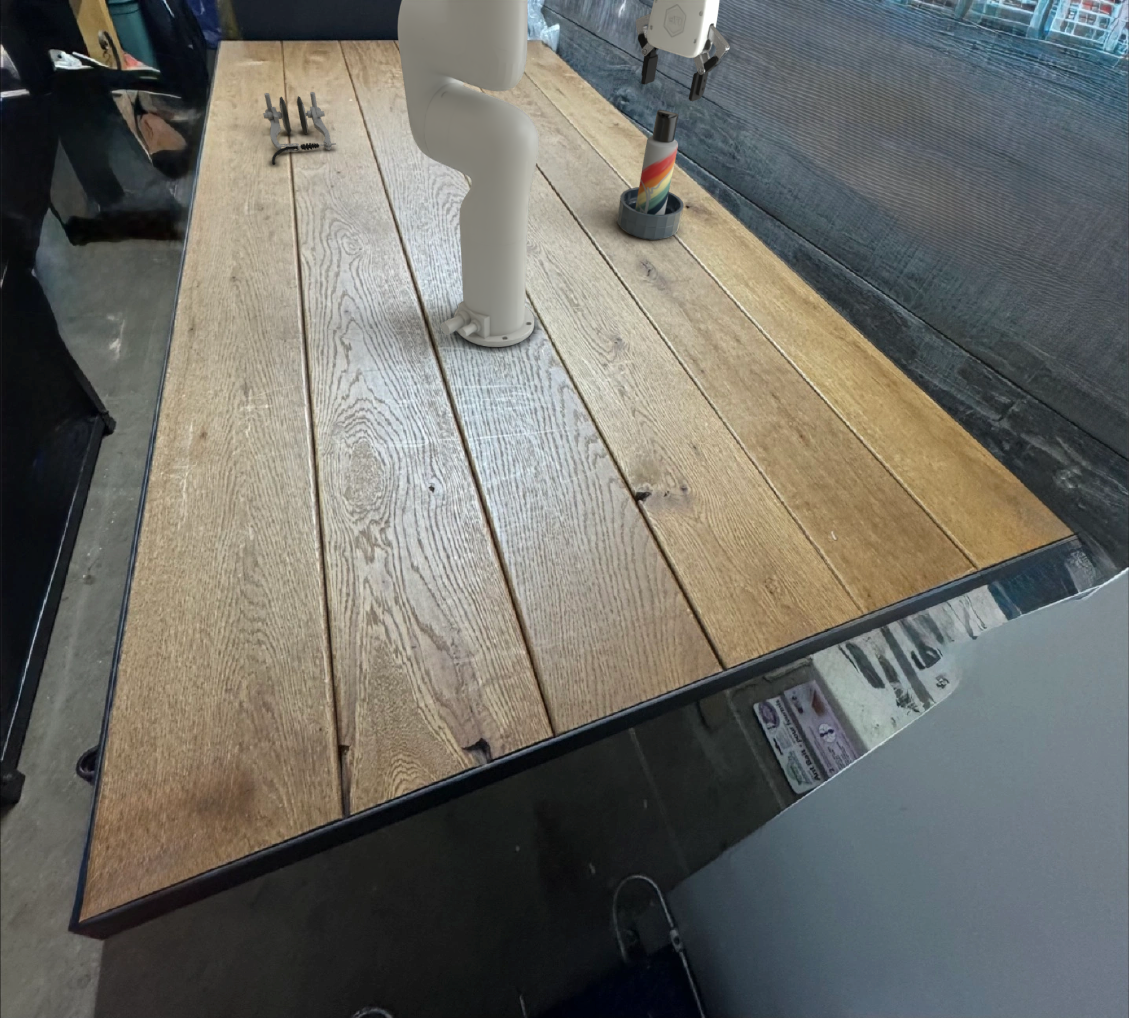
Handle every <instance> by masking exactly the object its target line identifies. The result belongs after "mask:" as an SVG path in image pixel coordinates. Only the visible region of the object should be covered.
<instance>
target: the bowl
mask: <svg viewBox="0 0 1129 1018" xmlns="http://www.w3.org/2000/svg"><path fill="white" fill-rule="evenodd" d="M638 191H639V186H635V187H631V188H628V189H626V190H624V191H623V192H622V193H621V194H620V195H619V202H618V208H617V209H618V210H617V218H616V223H617V225H618V226H619V228H621V229H622V230H623V231H624V232H626V233H627V234H629V235H631V236H633V237H636V238H639V239H642V240H643V239H644V240H653V241H656V240H657V241H658V240H663V239H667V238H670V237H673V236H674V235H676V234H677V233H678V231H679V229H680V226H681V221H682V216H683V211H684V202H683V200H682V199H681V198H680V197H679V196H678V195H676V194H675V193H673V192H670V191H669V193H668V198H667V204H666V209H665V214H664V215H653V214H646V213H642V212H639V211H636V210H635V209H636V203H637V197H638Z"/></svg>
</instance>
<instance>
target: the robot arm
mask: <svg viewBox="0 0 1129 1018" xmlns="http://www.w3.org/2000/svg"><path fill="white" fill-rule="evenodd" d="M528 1H529V0H401V2H400V6H399V11H398V16H397V17H398V18H397V39H398V40H397V41H398V50H399V57H400V65H401V72H402V81H403V86H404V87H403V88H404V89H403V90H404V96H405V101H406V102H405V103H406V110H407V117H408V123H409V128H410V132H411V135H412V138H413V141H414V143H415V144H416V146H417V148H418V149H419V150H420V151H421V153H423V154H424V155H425V157H428V158H429V159H431V160H433V161H435V162H437V163H439V164H441V165H443V166H445V167H448V168H450V169H452V170H455V171H457V172H459V173H460V174H463V175H465V176H467V177H468V178H469V179H470V186H469V187H470V188H469V189H468V191H467V193H466V194H465V196H464V197H463V199H462V201H461V204H460V206H459V207H460V208H459V213H458V214H459V215H458V217H459V219H458V220H459V221H458V222H459V236H460V237H459V239H460V260H461V281H462V284H461V285H462V286H461V287H462V301H460V302H459V303H458V305H457V309H456V310H455V312H454V315H453V317H451V318H449V319H447V320H445V321H443V322H441V323H440V330H441V332H442V333H443V334H444V335H445V336H449V335H451V334H453V333H455V332H457V333H458V334H459V336H460V337H462V338H463V339H465V340H467V341H468V342H470V343H472V344H475V345H478V346H483V347H489V348H503V347H509V346H514V345H517V344H518V343H521V342H523V341H525V340H526V339H528V338H529V336H531V334H532V333H533V331H534V328H535V318H534V314H533V312H532V311H531V310H530V309H529V308H528V306H527V305H526V293H527V292H526V291H527V290H526V289H527V268H528V267H527V264H528V242H529V241H528V240H529V238H528V237H529V236H528V235H529V215H530V214H529V211H530V200H531V192H532V186H533V180H534V175H535V172H536V166H537V162H538V158H539V154H540V153H539V152H540V135H539V131H538V128H537V125H536V124H535V121H533V119H532V117H531V116H530V115H529V114H528V113H527V112H526V111H525V110H523V109H522V108H520V107H519V106H517V105H515V104H513V103H511V102H509V101H507V100H504V99H502V98H499V97H496V96H493V95H491V94H488V93H486V92H483V91H479V90H476V89H473V88H471V87H468V86H465V85H464V84H467V85H469V86H472V87H476V88H478V89H482V90H485V91H491V92H501V93H502V92H507V91H510V90H512V89H514V88H515V87H517V85H518V84H519V83H520V82H521V80H522V79H523V76H524V74H525V70H526V64H527V58H528V27H529V26H528V25H529V24H528V23H529V21H528V15H529V13H528V10H529V9H528V6H529V5H528V3H529V2H528ZM719 8H720V0H653V3H652V7H651V11H650V13H647V14H644V15H643V16H641V17H638V18H636V20H635V27H636V33H637V41H638V44H639V46H640V48H641V55H642V56H643V61H642V67H641V75H640V76H641V81H640V84H641V85H643V86H645V85H649V84H651V83H653V82H655V79H656V73H657V68H658V62H659V54H657V52H658V50H662V51H665V52H668V53H671V54H674V55H677V56H681V57H684V58H688V59H692V58H693V61H694V64H695V67H696V71H697V72H694V73H693V76H692V81H691V83H690V84H691V85H690V89H689V94H688V101H689V102H696V101H698V100H700V99H702V97H703V95H704V93H705V91H706V90H705V89H706V85H707V81H708V78H709V77H708V76H709V73H711V72H712V71H713V70H714V69H715V68H716V67H717V66H719V65H720V64H721V63H722V60H723V59H724V57H725V56H726V55H727V53H728V52H729V50H730V48H731V46H730V44H729V43H728V41H727V40H726V39H725V37H724V36H723V35H722V34H721V33H720V31H719V30H718V29H717V28H716V27H717V21H718V15H719ZM712 45H713V46H714V47H715V52H714V54H713V55H712V56H710V53H709V52H710V51H711V49H712Z"/></svg>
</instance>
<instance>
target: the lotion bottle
mask: <svg viewBox="0 0 1129 1018" xmlns="http://www.w3.org/2000/svg"><path fill="white" fill-rule="evenodd" d="M678 120H679V113H677V112H672V111H669V110H665V109H658V110H657V111H656V115H655V121H654V126H653V132H652V135H651V136H649V137H648V138H647V139H646V143H645V149H644V155H643V162H642V166H641V173H640V178H639V179H640V180H639V186H638V187H639V191H638V197H637V203H636V209H635V210H636V211H639V212H642V213H646V214H653V215H664V214H665V209H666V204H667V198H668V193H669V192H670V188H671V183H672V178H673V173H674V167H675V163H676V158H677V153H678V147H679V143H678V141H677V140H676V139H675V136H676V131H677V126H678Z"/></svg>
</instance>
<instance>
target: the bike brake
mask: <svg viewBox="0 0 1129 1018" xmlns="http://www.w3.org/2000/svg"><path fill="white" fill-rule="evenodd" d="M309 94H310V100H311V106H310V107H309V110H306V108H305V105H304V103H303V100H302V98H301V96H299V95H298V96H297V98H296V106H297V110H298V115H299V117H298V118H299V121H300V127H301V130H302V132H303V133H304V134H305V135H307V134H309V133H308V131H309V126H308V119H311V120H312V123H313V126H314V129H316V130H317V131H318V132H319V133H321V134H322V136H323V137H324V140H323V141H322V144H319V143H317V142H312V143H311V142H306V143H302V144H300V145H299V143H298V142H296V143H295V142H293V143H280V142H279V140H278V136H279V134H280V132H281V131H282V127H281V123H280V120H282V125H283V127H284V130H285V132H286V134H287V135H288V136H291V132H292V128H291V123H290V119H289V118H290V117H289V113H288V108H287V103H286V101H285V99H284V98H283V96H280V97H279V111H277V108H276V106H273V104H272V100H271V95H270V93H269V92H265V93H264V100H265V102H266V103H265V105H266V108H267V109H265V110H264V112H263V113H262V115H263V118H264V119H266V120H268V121H269V122H270V129H269V131H270V132H269V135H270V141H271V143H272V145H273V147H274V149H275V152H274V154H273V155H272V157H271V163H272V165H274V166H275V165H276V158H277V157H278V156H279V155H280V154H281V153H290V152H291V153H292V152H300V151H301V150H303V151H306V150H307V151H312V150H314V149H319V148H320V147H323V148H324V149H325V150H326V151H331V149H332V146H336V145H337V143H336V142H333V143H332V141H331V136H330V131H329V129H328V128H327V126H326V125H325V123H324V122H323V119H322V117H325V116H326V115H325V111H324V110H322V109H321V108H320V107H319V106H318V103H317V97H316V93H315V92H314V91H310V93H309Z"/></svg>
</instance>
